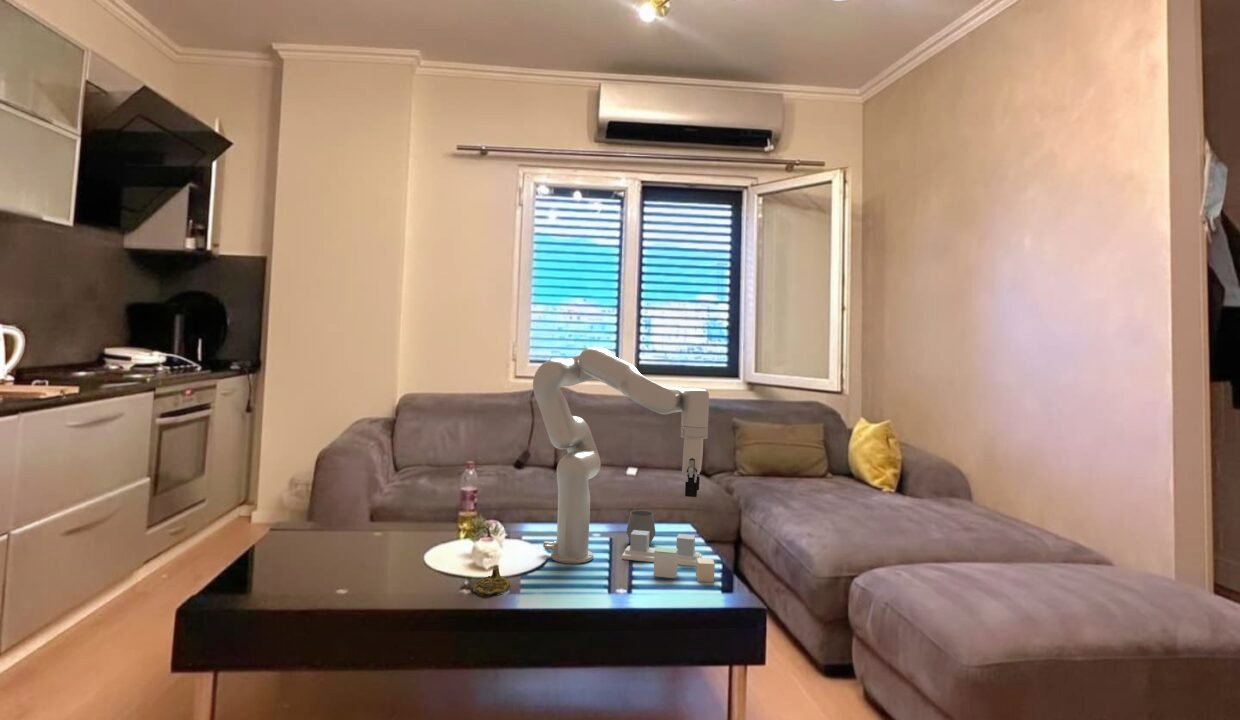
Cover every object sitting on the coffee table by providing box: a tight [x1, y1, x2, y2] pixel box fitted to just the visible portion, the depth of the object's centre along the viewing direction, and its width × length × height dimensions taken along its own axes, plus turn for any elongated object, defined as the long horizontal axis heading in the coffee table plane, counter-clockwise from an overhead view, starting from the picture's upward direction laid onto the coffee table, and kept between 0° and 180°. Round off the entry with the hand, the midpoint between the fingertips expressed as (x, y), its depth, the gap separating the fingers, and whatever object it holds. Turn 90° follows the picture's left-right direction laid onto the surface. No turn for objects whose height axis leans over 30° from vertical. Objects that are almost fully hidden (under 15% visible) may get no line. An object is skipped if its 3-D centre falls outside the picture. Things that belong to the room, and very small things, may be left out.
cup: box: [626, 510, 656, 545], centre depth 220 cm, size 10×9×10 cm
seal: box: [472, 564, 511, 598], centre depth 174 cm, size 9×5×15 cm
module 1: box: [653, 546, 678, 579], centre depth 190 cm, size 6×4×7 cm
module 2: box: [695, 557, 716, 583], centre depth 187 cm, size 4×5×5 cm
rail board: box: [621, 530, 703, 567], centre depth 205 cm, size 23×9×7 cm, turn 79°
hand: (692, 493), depth 191 cm, fingers open, 9 cm apart
